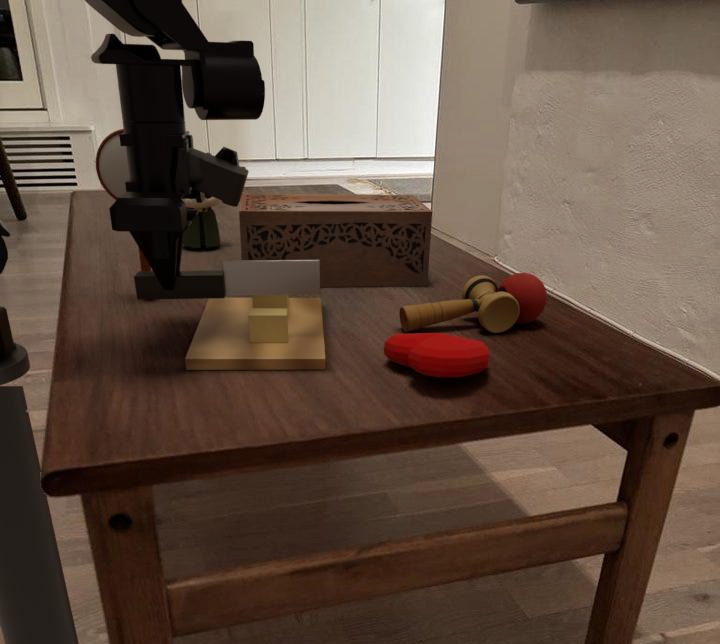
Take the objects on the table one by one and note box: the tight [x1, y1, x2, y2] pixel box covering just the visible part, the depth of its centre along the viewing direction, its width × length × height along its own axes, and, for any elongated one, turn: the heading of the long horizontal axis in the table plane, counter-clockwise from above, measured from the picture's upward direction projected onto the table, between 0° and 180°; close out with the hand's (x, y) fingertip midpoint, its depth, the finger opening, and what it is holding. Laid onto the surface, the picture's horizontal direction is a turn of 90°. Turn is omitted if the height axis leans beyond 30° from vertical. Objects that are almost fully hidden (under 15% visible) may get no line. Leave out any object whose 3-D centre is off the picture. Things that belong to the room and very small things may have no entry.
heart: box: [383, 332, 490, 378], centre depth 74 cm, size 12×4×10 cm
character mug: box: [182, 194, 221, 249], centre depth 119 cm, size 11×7×13 cm, turn 106°
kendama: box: [398, 272, 548, 334], centre depth 87 cm, size 8×6×18 cm
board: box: [184, 297, 327, 371], centre depth 84 cm, size 14×22×1 cm, turn 4°
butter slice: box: [248, 308, 288, 343], centre depth 78 cm, size 4×2×3 cm, turn 94°
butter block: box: [251, 295, 290, 310], centre depth 88 cm, size 4×7×3 cm, turn 4°
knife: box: [133, 259, 321, 301], centre depth 77 cm, size 19×2×4 cm, turn 94°
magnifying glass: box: [95, 128, 152, 301], centre depth 90 cm, size 9×2×20 cm, turn 99°
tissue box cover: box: [238, 193, 433, 288], centre depth 106 cm, size 26×14×10 cm, turn 97°
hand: (170, 286), depth 77 cm, fingers closed on knife, 2 cm apart
